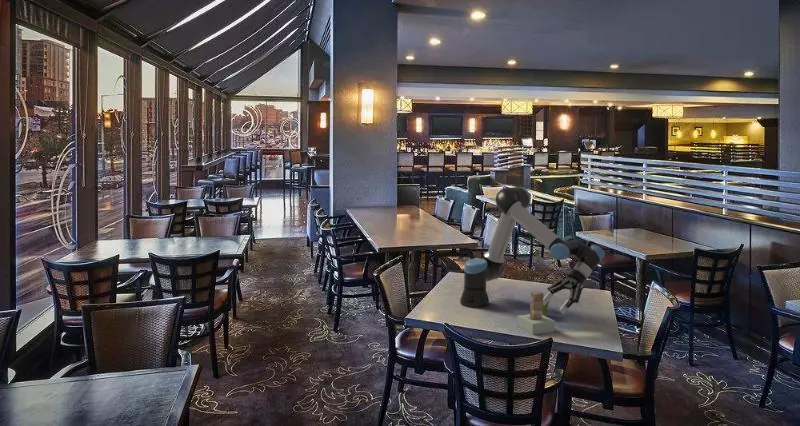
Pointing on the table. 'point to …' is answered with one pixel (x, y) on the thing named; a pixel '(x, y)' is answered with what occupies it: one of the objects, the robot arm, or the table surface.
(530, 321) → the end cap
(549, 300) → the plant pot
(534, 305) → the slat
